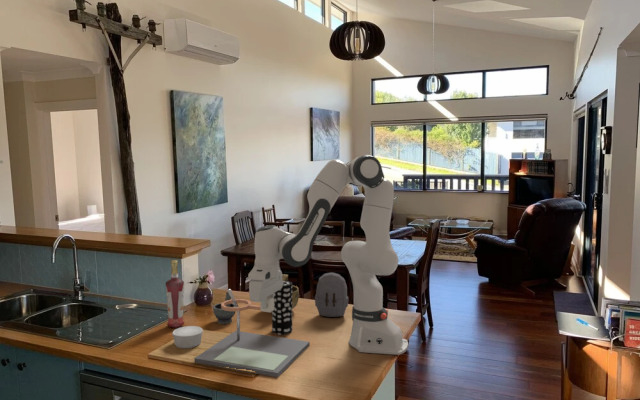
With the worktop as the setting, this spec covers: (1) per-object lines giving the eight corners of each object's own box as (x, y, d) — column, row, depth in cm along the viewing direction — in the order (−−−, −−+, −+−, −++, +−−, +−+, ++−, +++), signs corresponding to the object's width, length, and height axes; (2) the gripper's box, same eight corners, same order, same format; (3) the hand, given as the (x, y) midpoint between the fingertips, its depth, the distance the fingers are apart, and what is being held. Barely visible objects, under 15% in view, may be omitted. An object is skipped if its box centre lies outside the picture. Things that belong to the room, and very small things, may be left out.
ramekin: (171, 340, 188) (171, 327, 187) (201, 337, 192) (200, 324, 191) (173, 351, 177) (173, 337, 177) (204, 347, 181) (204, 334, 181)
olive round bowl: (268, 303, 235) (268, 273, 233) (302, 305, 232) (303, 274, 231) (256, 318, 213) (255, 285, 211) (293, 320, 210) (293, 287, 209)
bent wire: (241, 341, 185) (240, 284, 183) (230, 348, 178) (230, 289, 176) (237, 340, 186) (237, 283, 184) (227, 347, 179) (226, 289, 176)
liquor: (185, 328, 201) (183, 262, 198) (166, 330, 199) (164, 263, 196) (184, 322, 208) (183, 258, 205) (166, 324, 206) (165, 259, 203)
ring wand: (278, 306, 182) (278, 295, 182) (265, 315, 172) (265, 303, 171) (231, 300, 189) (231, 289, 189) (215, 309, 179) (215, 297, 179)
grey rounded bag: (348, 314, 219) (349, 271, 217) (347, 320, 211) (347, 275, 209) (316, 312, 221) (316, 269, 219) (313, 318, 213) (313, 274, 211)
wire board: (309, 345, 183) (309, 341, 183) (277, 377, 157) (277, 372, 157) (235, 334, 194) (235, 330, 194) (194, 362, 168) (194, 357, 168)
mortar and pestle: (229, 326, 203) (229, 298, 202) (209, 324, 206) (209, 296, 204) (240, 317, 214) (240, 291, 213) (221, 315, 216) (220, 289, 215)
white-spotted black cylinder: (289, 335, 193) (289, 286, 191) (269, 333, 195) (269, 285, 193) (294, 328, 201) (294, 281, 200) (275, 326, 203) (275, 280, 201)
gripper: (271, 263, 187) (272, 298, 188) (245, 275, 168) (246, 314, 169) (286, 264, 185) (286, 299, 186) (261, 277, 166) (262, 316, 167)
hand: (267, 306), depth 178 cm, fingers closed on ring wand, 3 cm apart
